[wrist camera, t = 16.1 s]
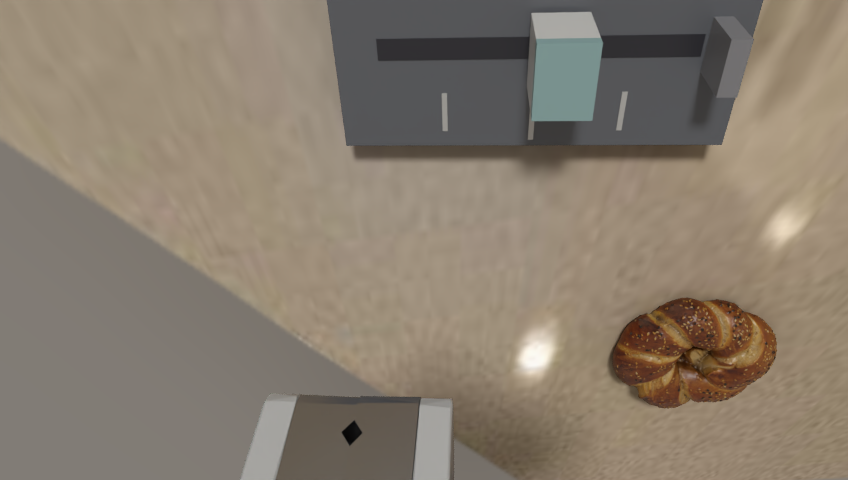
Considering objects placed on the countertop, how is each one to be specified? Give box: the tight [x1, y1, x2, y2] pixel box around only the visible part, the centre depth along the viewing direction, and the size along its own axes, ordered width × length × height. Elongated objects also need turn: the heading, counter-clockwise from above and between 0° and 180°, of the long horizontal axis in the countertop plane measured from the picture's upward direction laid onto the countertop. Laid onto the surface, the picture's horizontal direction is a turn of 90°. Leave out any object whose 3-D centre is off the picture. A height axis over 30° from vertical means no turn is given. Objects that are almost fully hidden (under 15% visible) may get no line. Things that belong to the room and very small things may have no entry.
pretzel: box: [613, 298, 777, 408], centre depth 49 cm, size 12×11×4 cm
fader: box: [527, 12, 603, 121], centre depth 32 cm, size 3×4×4 cm
